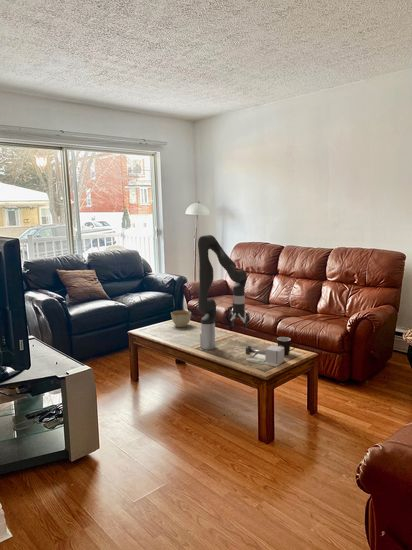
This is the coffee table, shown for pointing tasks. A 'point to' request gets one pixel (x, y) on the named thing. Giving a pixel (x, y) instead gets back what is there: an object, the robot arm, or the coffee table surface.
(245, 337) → the coffee table surface
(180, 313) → the planter bowl
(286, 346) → the coffee mug
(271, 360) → the gauge body
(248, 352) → the plunger
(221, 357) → the coffee table surface
